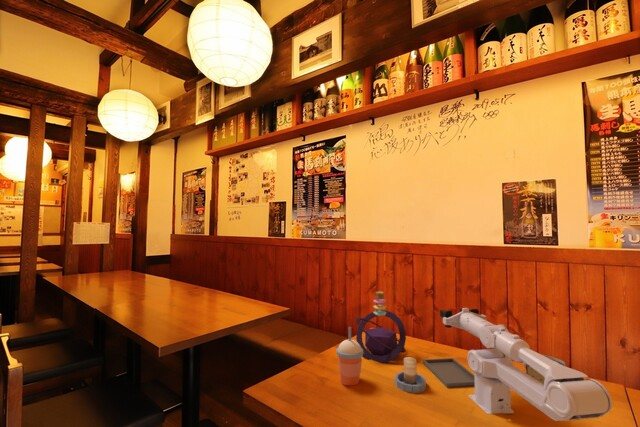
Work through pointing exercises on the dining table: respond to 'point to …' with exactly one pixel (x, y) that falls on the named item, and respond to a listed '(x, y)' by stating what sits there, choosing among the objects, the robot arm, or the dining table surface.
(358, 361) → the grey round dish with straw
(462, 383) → the tray
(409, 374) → the dowel pin
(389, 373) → the dining table surface
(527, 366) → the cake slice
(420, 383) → the grey round dish
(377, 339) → the decorative bottle
